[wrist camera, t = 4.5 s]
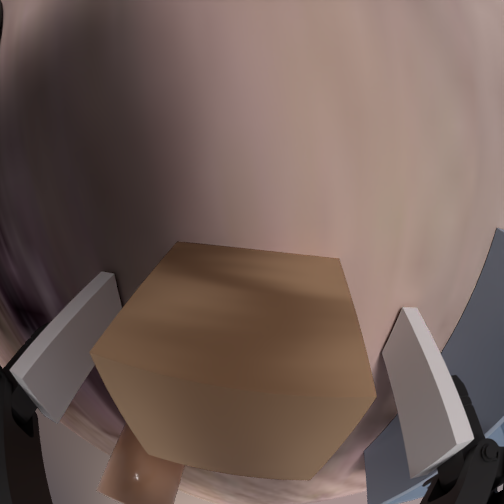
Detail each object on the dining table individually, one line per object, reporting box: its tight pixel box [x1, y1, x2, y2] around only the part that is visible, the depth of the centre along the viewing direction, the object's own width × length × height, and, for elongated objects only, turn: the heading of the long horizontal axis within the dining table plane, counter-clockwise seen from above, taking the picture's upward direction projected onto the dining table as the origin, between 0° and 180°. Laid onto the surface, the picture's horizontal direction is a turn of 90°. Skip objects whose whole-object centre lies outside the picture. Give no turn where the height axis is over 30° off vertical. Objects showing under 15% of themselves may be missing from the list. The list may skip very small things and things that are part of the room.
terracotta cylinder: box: [96, 422, 185, 504], centre depth 13 cm, size 5×5×8 cm
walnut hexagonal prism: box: [89, 241, 377, 480], centre depth 9 cm, size 6×6×6 cm
